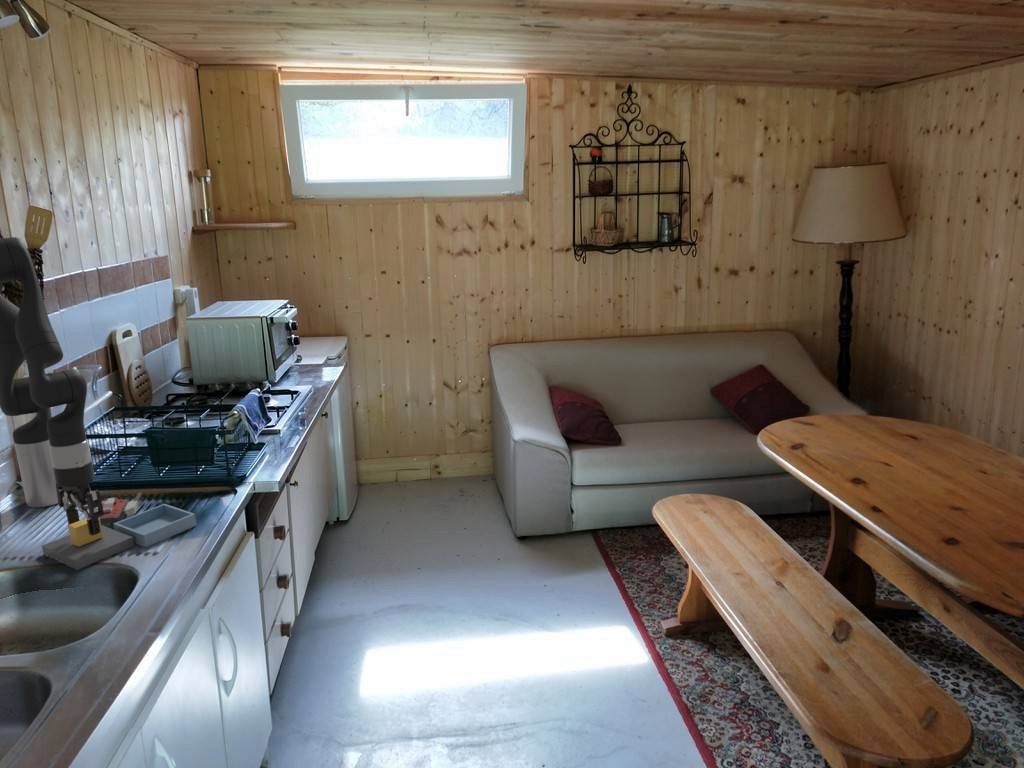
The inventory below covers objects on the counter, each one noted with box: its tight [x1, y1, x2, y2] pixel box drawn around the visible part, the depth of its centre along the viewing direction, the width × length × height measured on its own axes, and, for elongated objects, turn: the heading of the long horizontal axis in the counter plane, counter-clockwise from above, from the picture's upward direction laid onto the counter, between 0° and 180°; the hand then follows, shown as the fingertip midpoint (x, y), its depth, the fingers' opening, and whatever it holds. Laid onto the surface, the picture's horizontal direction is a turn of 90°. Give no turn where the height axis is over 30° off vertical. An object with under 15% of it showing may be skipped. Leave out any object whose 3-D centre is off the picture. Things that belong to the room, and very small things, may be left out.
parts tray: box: [113, 503, 197, 548], centre depth 185 cm, size 12×13×3 cm
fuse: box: [67, 517, 103, 547], centre depth 176 cm, size 3×6×7 cm, turn 147°
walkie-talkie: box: [98, 491, 142, 529], centre depth 195 cm, size 9×4×20 cm
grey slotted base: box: [41, 525, 135, 571], centre depth 176 cm, size 14×13×2 cm
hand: (84, 529), depth 175 cm, fingers open, 8 cm apart
